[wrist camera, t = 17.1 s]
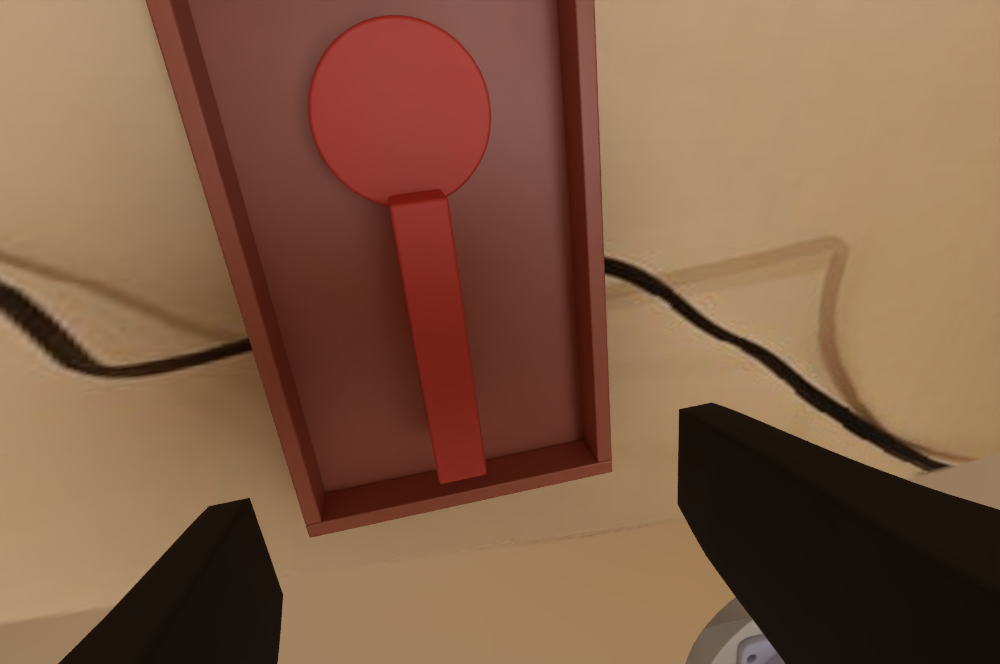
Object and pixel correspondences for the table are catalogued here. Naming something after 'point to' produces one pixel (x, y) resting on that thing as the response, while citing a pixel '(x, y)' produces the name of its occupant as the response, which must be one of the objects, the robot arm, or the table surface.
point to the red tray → (374, 260)
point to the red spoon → (414, 191)
